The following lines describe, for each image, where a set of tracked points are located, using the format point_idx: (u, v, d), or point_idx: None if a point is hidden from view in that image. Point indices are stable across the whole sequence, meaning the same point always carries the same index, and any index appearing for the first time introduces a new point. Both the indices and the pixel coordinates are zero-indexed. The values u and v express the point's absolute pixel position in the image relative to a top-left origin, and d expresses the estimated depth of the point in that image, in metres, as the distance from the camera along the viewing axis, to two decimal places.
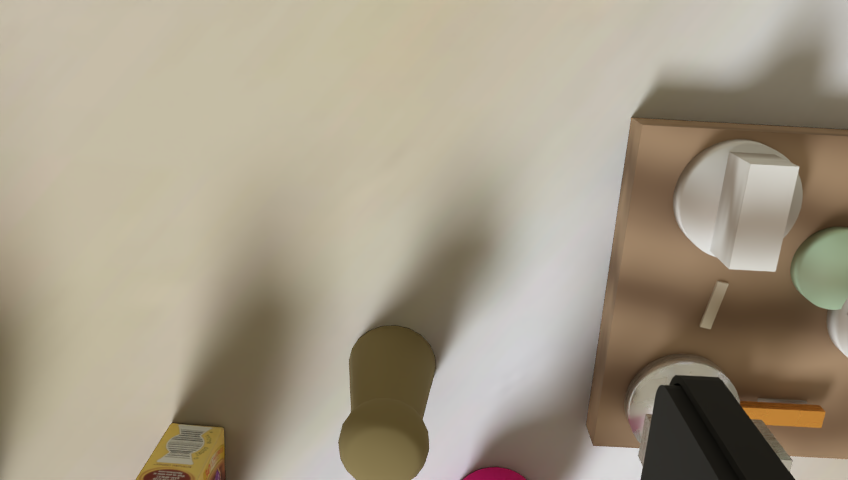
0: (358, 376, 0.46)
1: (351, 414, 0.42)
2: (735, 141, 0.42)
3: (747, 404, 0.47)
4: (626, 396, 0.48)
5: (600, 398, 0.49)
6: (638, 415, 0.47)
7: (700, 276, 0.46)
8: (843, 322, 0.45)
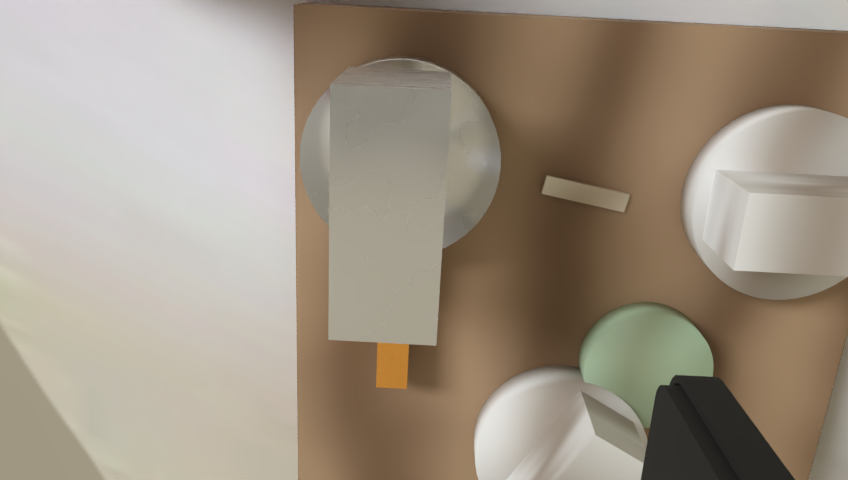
0: None
1: None
2: None
3: None
4: (413, 57, 0.26)
5: (399, 10, 0.26)
6: None
7: (638, 165, 0.27)
8: (566, 388, 0.29)
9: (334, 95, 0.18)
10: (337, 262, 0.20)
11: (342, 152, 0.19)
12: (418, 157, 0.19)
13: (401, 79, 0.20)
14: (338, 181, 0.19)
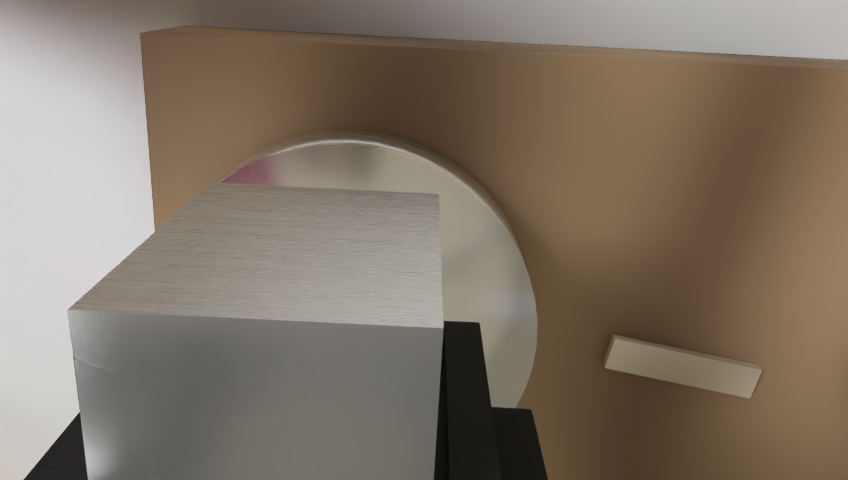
0: None
1: None
2: None
3: None
4: (369, 133, 0.13)
5: (342, 43, 0.13)
6: (327, 178, 0.12)
7: (779, 319, 0.15)
8: None
9: (85, 340, 0.06)
10: None
11: None
12: None
13: (310, 248, 0.07)
14: None
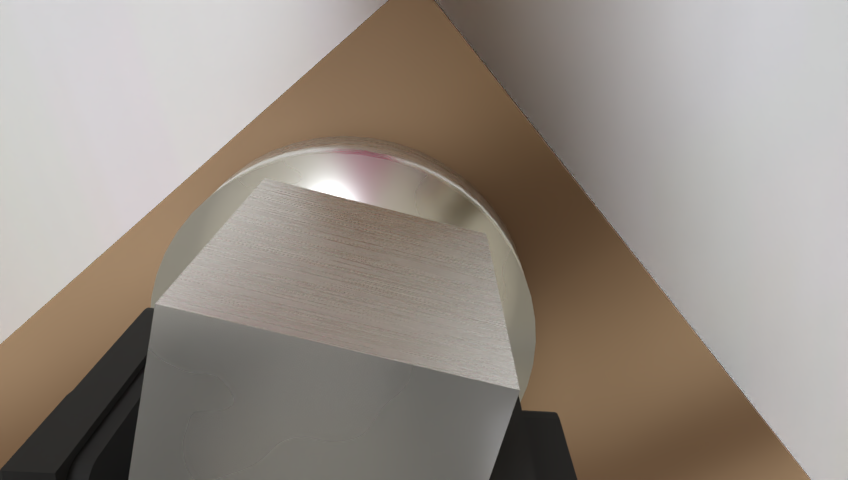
0: None
1: None
2: None
3: None
4: (406, 149, 0.13)
5: (539, 136, 0.14)
6: (361, 187, 0.12)
7: None
8: None
9: (165, 336, 0.06)
10: None
11: None
12: None
13: (376, 275, 0.07)
14: None
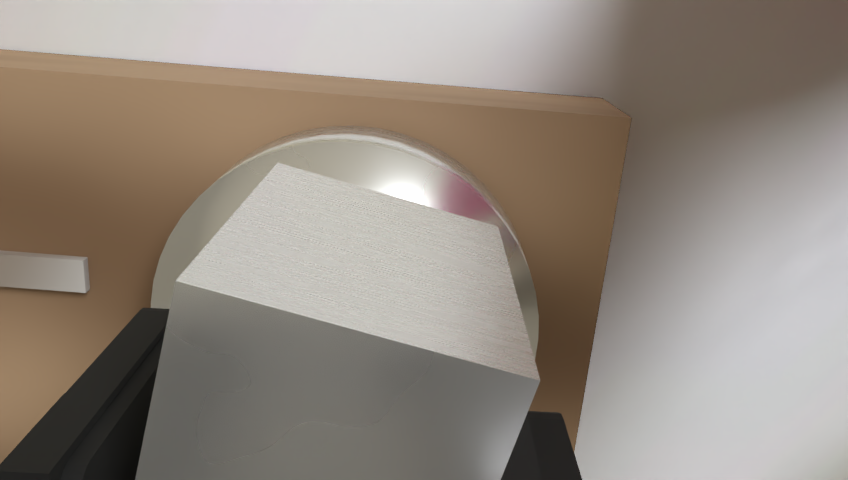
0: None
1: None
2: None
3: None
4: (415, 141, 0.13)
5: (599, 297, 0.15)
6: (370, 177, 0.12)
7: None
8: None
9: (183, 314, 0.06)
10: None
11: (179, 466, 0.06)
12: None
13: (393, 262, 0.07)
14: None
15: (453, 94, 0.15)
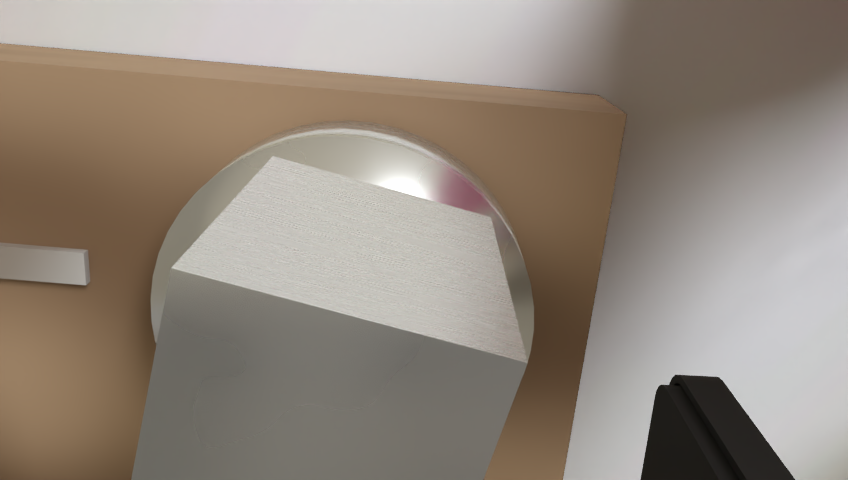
0: None
1: None
2: None
3: None
4: (410, 135, 0.14)
5: (594, 291, 0.15)
6: (365, 171, 0.12)
7: None
8: None
9: (179, 301, 0.06)
10: None
11: (175, 450, 0.06)
12: None
13: (385, 251, 0.08)
14: None
15: (451, 90, 0.15)
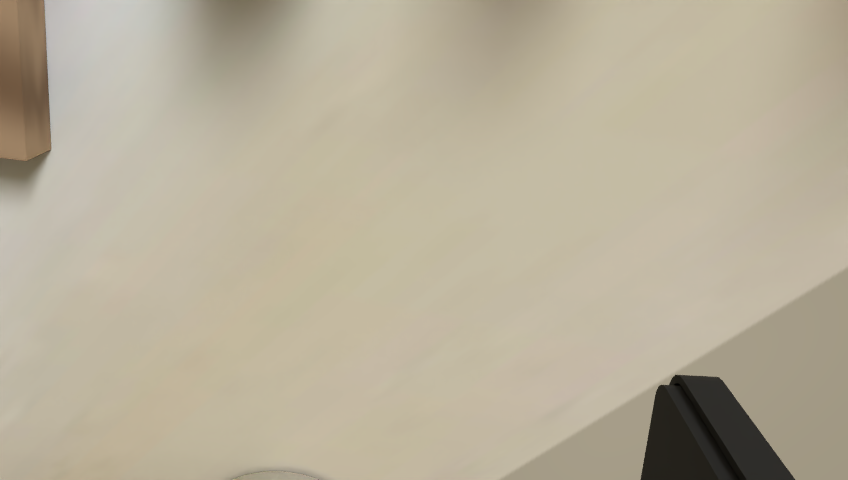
0: None
1: None
2: None
3: None
4: None
5: None
6: None
7: None
8: None
9: None
10: None
11: None
12: None
13: None
14: None
15: None
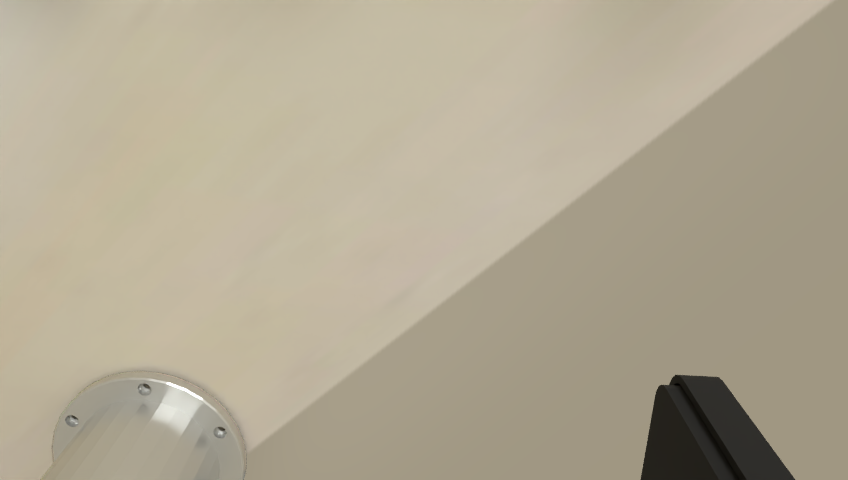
0: None
1: None
2: None
3: None
4: None
5: None
6: None
7: None
8: None
9: None
10: None
11: None
12: None
13: None
14: None
15: None
